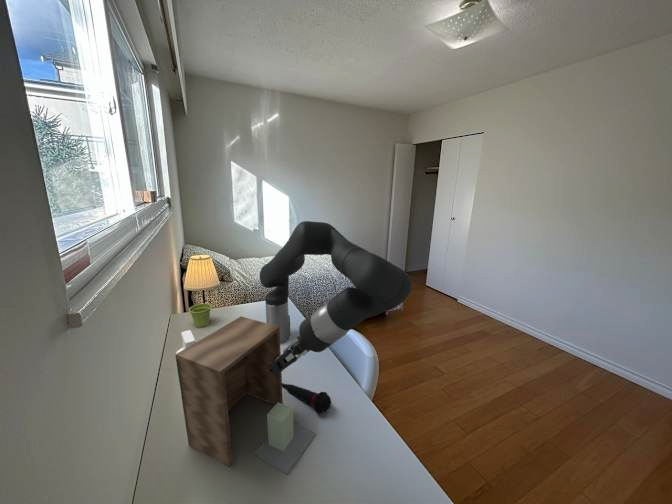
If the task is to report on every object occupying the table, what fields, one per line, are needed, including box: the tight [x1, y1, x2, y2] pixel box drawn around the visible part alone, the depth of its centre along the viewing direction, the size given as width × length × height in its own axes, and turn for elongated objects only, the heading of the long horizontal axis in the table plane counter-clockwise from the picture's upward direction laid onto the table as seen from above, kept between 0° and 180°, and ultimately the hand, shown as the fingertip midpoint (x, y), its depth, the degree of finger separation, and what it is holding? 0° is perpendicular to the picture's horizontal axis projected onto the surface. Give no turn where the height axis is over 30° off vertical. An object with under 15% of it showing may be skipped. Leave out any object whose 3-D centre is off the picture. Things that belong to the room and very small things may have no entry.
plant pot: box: [188, 302, 212, 328], centre depth 127 cm, size 9×9×9 cm
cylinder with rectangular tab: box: [175, 329, 196, 354], centre depth 98 cm, size 9×9×12 cm
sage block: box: [266, 402, 294, 452], centre depth 69 cm, size 4×4×9 cm
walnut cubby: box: [175, 316, 284, 468], centre depth 72 cm, size 14×21×26 cm, turn 156°
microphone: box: [282, 382, 332, 414], centre depth 84 cm, size 6×6×20 cm
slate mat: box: [254, 420, 317, 476], centre depth 69 cm, size 12×10×1 cm
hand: (282, 359), depth 64 cm, fingers open, 8 cm apart
